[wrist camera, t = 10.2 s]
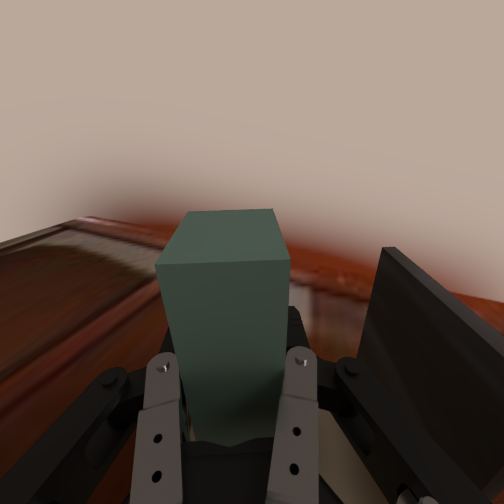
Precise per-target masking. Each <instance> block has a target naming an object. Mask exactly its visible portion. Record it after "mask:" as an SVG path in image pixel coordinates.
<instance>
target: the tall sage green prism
mask: <svg viewBox="0 0 504 504" xmlns="http://www.w3.org/2000/svg"><path fill="white" fill-rule="evenodd" d="M290 263H291V259H290V256H289V253H288V251H287V248H286V245H285V242H284V239H283V236H282V234H281V231H280V228H279V225H278V222H277V220H276V217H275V214H274V211H273V209H250V210H221V211H193V212H187V214H186V215H185V217H184V219H183V220H182V222H181V224H180V225H179V227H178V228H177V230H176V231H175V233H174V234H173V236H172V238H171V239H170V241H169V242H168V244H167V246H166V247H165V249H164V250H163V252H162V254H161V255H160V257H159V258H158V260H157V262H156V263H155V269H156V273H157V277H158V282H159V286H160V290H161V295H162V299H163V303H164V307H165V312H166V316H167V320H168V325H169V329H170V333H171V337H172V342H173V346H174V350H175V355H176V359H177V363H178V367H179V372H180V376H181V380H182V385H183V389H184V393H185V398H186V402H187V406H188V410H189V415H190V419H191V423H192V428H193V432H194V436H195V440H196V441H207V442H211V443H215V444H219V445H223V446H226V447H231V446H234V445H237V444H240V443H243V442H246V441H248V440H251V439H254V438H265V437H275V430H276V423H277V415H278V408H279V401H280V395H281V392H282V385H283V377H284V370H285V363H286V343H287V323H288V303H289V283H290Z"/></svg>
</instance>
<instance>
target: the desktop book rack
mask: <svg viewBox="0 0 504 504" xmlns="http://www.w3.org/2000/svg"><path fill="white" fill-rule="evenodd" d="M356 359H357V360H359V361H361V362H362V363H363V364H364V365H365V366H366V367H367V368H368V369H369V370H370V371H371V372H372V373H373V374H374V375H375V376H376V378H377V379H378V380H379V381H380V382H381V383H382V384H383V385H384V386H385V387H386V388H387V390H388V391H389V392H390V393H391V394H392V395H393V396H394V397H395V398H396V399H397V400H398V402H399V403H400V404H401V405H402V406H403V407H404V408H405V409H406V410H407V411H408V412H409V413H410V415H411V416H412V417H413V418H414V419H415V420H416V421H417V422H418V423H419V424H420V425H421V427H422V428H423V429H424V430H425V431H426V432H427V433H428V434H429V435H430V436H431V437H432V438H433V440H434V441H435V442H436V443H437V444H438V445H439V446H440V447H441V448H442V449H443V450H444V452H445V453H446V454H447V455H448V456H449V457H450V458H451V459H452V460H453V461H454V462H455V464H456V465H457V466H458V467H459V468H460V469H461V470H462V471H463V472H464V473H465V474H466V475H467V477H468V478H469V479H470V480H471V481H472V482H473V483H474V484H475V485H476V486H477V487H478V489H479V490H480V491H481V492H482V493H483V494H484V495H485V496H486V497H487V498H488V499H489V501H490V502H491V501H492V500H493V499H494V498H495V497H496V496H497V495H498V494H499V493H500V492H501V491H502V490H503V488H504V337H503V336H502V335H501V334H500V333H498V332H497V331H496V330H495V329H494V328H492V327H491V326H490V325H489V324H488V323H486V322H485V321H484V320H483V319H481V318H480V317H479V316H478V315H477V314H475V313H474V312H473V311H472V310H471V309H469V308H468V307H467V306H466V305H465V304H463V303H462V302H461V301H460V300H458V299H457V298H456V297H455V296H454V295H452V294H451V293H450V292H449V291H448V290H446V289H445V288H444V287H443V286H442V285H440V284H439V283H438V282H437V281H435V280H434V279H433V278H432V277H431V276H429V275H428V274H427V273H426V272H425V271H423V270H422V269H421V268H420V267H419V266H417V265H416V264H415V263H414V262H412V261H411V260H410V259H409V258H408V257H406V256H405V255H404V254H403V253H402V252H400V251H399V250H398V249H397V248H396V247H383V248H382V251H381V255H380V259H379V263H378V268H377V272H376V276H375V280H374V285H373V289H372V293H371V298H370V302H369V306H368V310H367V315H366V319H365V323H364V328H363V332H362V336H361V341H360V345H359V349H358V353H357V358H356ZM190 441H196V440H195V436H194V432H193V428H192V423H191V428H190ZM318 453H319V474H320V475H321V476H322V478H323V479H324V480H325V481H326V482H327V484H328V485H329V486H330V487H331V488H332V490H333V491H334V492H335V493H336V494H337V496H338V497H339V498H340V499H341V501H342V502H343V503H344V504H389V503H388V501H387V500H386V498H385V497H384V495H383V493H382V492H381V490H380V489H379V487H378V486H377V484H376V483H375V481H374V479H373V478H372V476H371V475H370V473H369V472H368V470H367V469H366V467H365V466H364V464H363V462H362V461H361V459H360V458H359V456H358V455H357V453H356V452H355V450H354V448H353V447H352V445H351V444H350V442H349V441H348V439H347V438H346V436H345V434H344V433H343V431H342V430H341V428H340V427H339V425H338V424H337V422H336V421H335V419H334V417H333V416H332V414H331V413H330V411H326V410H323V409H319V408H318Z"/></svg>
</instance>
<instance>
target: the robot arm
mask: <svg viewBox="0 0 504 504" xmlns="http://www.w3.org/2000/svg"><path fill="white" fill-rule="evenodd" d="M318 408H319V409H323V410H326V411H330V413H331V414H332V416H333V417H334V419H335V421H336V422H337V424H338V425H339V427H340V428H341V430H342V431H343V433H344V434H345V436H346V438H347V439H348V441H349V442H350V444H351V445H352V447H353V448H354V450H355V452H356V453H357V455H358V456H359V458H360V459H361V461H362V462H363V464H364V466H365V467H366V469H367V470H368V472H369V473H370V475H371V476H372V478H373V479H374V481H375V483H376V484H377V486H378V487H379V489H380V490H381V492H382V493H383V495H384V497H385V498H386V500H387V501H388V503H389V504H492V503H491V502H490V501H489V499H488V498H487V497H486V496H485V495H484V494H483V493H482V492H481V491H480V490H479V489H478V487H477V486H476V485H475V484H474V483H473V482H472V481H471V480H470V479H469V478H468V477H467V475H466V474H465V473H464V472H463V471H462V470H461V469H460V468H459V467H458V466H457V465H456V464H455V462H454V461H453V460H452V459H451V458H450V457H449V456H448V455H447V454H446V453H445V452H444V450H443V449H442V448H441V447H440V446H439V445H438V444H437V443H436V442H435V441H434V440H433V438H432V437H431V436H430V435H429V434H428V433H427V432H426V431H425V430H424V429H423V428H422V427H421V425H420V424H419V423H418V422H417V421H416V420H415V419H414V418H413V417H412V416H411V415H410V413H409V412H408V411H407V410H406V409H405V408H404V407H403V406H402V405H401V404H400V403H399V402H398V400H397V399H396V398H395V397H394V396H393V395H392V394H391V393H390V392H389V391H388V390H387V388H386V387H385V386H384V385H383V384H382V383H381V382H380V381H379V380H378V379H377V378H376V376H375V375H374V374H373V373H372V372H371V371H370V370H369V369H368V368H367V367H366V366H365V365H364V364H363V363H362V362H361V361H359V360H357V359H355V358H351V357H344V358H341V359H339V360H338V361H337V363H334V362H330V361H326V360H323V359H320V358H319V357H317V356H316V355H315V354H314V352H313V351H311V349H310V346H309V343H308V340H307V336H306V333H305V330H304V326H303V323H302V320H301V316H300V313H299V311H298V310H297V309H296V308H295V307H294V306H288V323H287V343H286V363H285V370H284V377H283V385H282V392H281V395H280V401H279V408H278V415H277V423H276V430H275V437H265V438H254V439H251V440H248V441H246V442H243V443H240V444H237V445H234V446H231V447H226V446H223V445H219V444H215V443H211V442H207V441H190V432H189V418H188V406H187V402H186V398H185V393H184V389H183V385H182V380H181V376H180V372H179V367H178V363H177V359H176V355H175V350H174V346H173V342H172V337H171V333H170V329H169V327H168V330H167V332H166V335H165V338H164V341H163V343H162V346H161V349H160V352H159V354H158V355H156V356H155V357H153V358H152V359H151V360H150V362H149V363H148V365H147V366H146V367H144V368H142V369H139V370H136V371H133V372H130V373H127V371H126V370H125V369H124V368H121V367H114V368H110V369H108V370H106V371H104V372H102V373H101V374H100V375H99V376H98V377H97V378H96V379H95V380H94V381H93V382H92V383H91V384H90V385H89V386H88V387H87V388H86V389H85V390H84V391H83V392H82V394H81V395H80V396H79V397H78V398H77V399H76V400H75V401H74V402H73V403H72V404H71V405H70V406H69V407H68V408H67V410H66V411H65V412H64V413H63V414H62V415H61V416H60V417H59V418H58V419H57V420H56V421H55V422H54V423H53V424H52V425H51V427H50V428H49V429H48V430H47V431H46V432H45V433H44V434H43V435H42V436H41V437H40V438H39V439H38V440H37V441H36V442H35V444H34V445H33V446H32V447H31V448H30V449H29V450H28V451H27V452H26V453H25V454H24V455H23V456H22V457H21V458H20V459H19V461H18V462H17V463H16V464H15V465H14V466H13V467H12V468H11V469H10V470H9V471H8V472H7V473H6V474H5V475H4V476H3V478H2V479H1V480H0V504H85V503H86V502H87V500H88V499H89V497H90V496H91V494H92V493H93V491H94V490H95V488H96V487H97V485H98V484H99V482H100V481H101V479H102V478H103V476H104V475H105V473H106V471H107V470H108V468H109V467H110V465H111V464H112V462H113V461H114V459H115V458H116V456H117V455H118V453H119V452H120V450H121V449H122V447H123V446H124V444H125V443H126V441H127V440H128V438H129V437H130V435H131V434H132V432H133V431H134V429H135V428H136V426H137V433H136V443H135V453H134V463H133V473H132V484H131V492H130V493H129V494H128V496H127V497H126V498H125V499H124V500H123V501H122V503H121V504H344V503H343V502H342V501H341V499H340V498H339V497H338V496H337V494H336V493H335V492H334V491H333V490H332V488H331V487H330V486H329V485H328V484H327V482H326V481H325V480H324V479H323V478H322V476H321V475H320V474H319V453H318Z"/></svg>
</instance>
